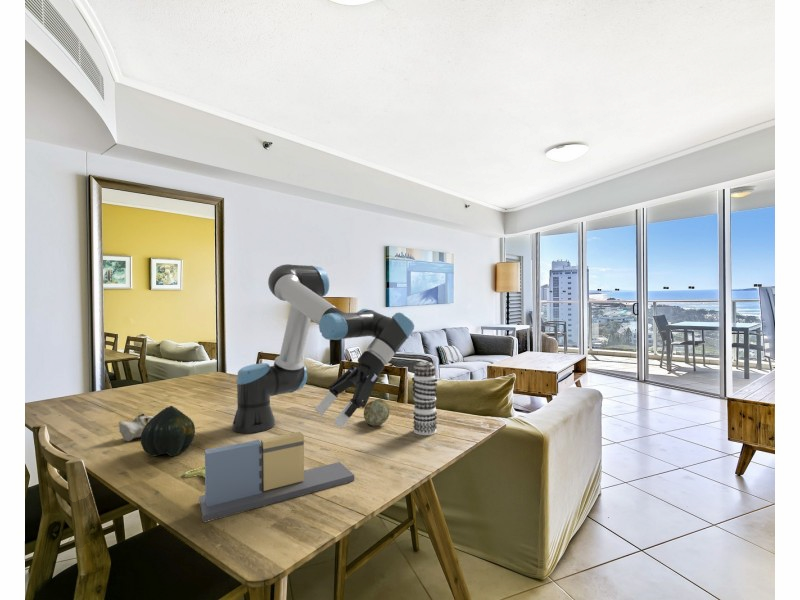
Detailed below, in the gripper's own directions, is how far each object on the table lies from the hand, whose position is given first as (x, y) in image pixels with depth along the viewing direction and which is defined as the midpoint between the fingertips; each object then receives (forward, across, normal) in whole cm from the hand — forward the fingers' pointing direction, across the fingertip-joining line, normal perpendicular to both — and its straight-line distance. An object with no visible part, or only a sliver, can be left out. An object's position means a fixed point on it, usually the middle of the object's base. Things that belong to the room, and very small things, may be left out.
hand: (326, 419), depth 104 cm
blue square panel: (+27, 0, +6) cm, 27 cm away
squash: (+37, +46, +14) cm, 60 cm away
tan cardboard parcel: (+19, 0, -2) cm, 19 cm away
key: (+32, +21, +8) cm, 39 cm away
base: (+20, 0, -3) cm, 20 cm away
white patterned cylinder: (-20, +16, -43) cm, 50 cm away
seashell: (-12, +34, -35) cm, 50 cm away
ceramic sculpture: (+42, +67, +19) cm, 81 cm away
